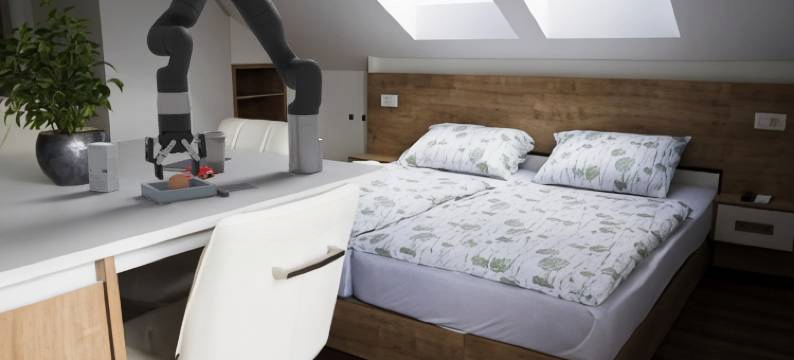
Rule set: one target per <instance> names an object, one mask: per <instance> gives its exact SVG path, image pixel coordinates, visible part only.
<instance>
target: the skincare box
mask: <svg viewBox="0 0 794 360" xmlns="http://www.w3.org/2000/svg"><path fill="white" fill-rule="evenodd" d="M86 147H87V164H88V166H87V167H88V182H89V183H88V185H89V191H90V192H100V193H111V192H116V191H119V190H120V179H119V178H120V177H119V173H120V171H119V153H118V152H119V151H118V150H119V149H118V143H114V142H100V141H99V142H98V141H97V142H92V143H87V146H86Z"/></svg>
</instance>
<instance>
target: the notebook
mask: <svg viewBox="0 0 794 360" xmlns="http://www.w3.org/2000/svg"><path fill="white" fill-rule="evenodd" d="M191 160H193V159H192V158H191V157H190V158H187V159H182V160H178V161H175V162H172V163H168V164H162V165H163V171H173V172H174V171H175V172H182V171H185V170H186V169H188V168H190V167H192V164H191ZM232 160H233V159H232V157H225V161H224V165H225V164H228V163H231V162H232ZM200 167H207V161H206V157H205V158H202V159H200Z"/></svg>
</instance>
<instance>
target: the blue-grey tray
mask: <svg viewBox="0 0 794 360" xmlns="http://www.w3.org/2000/svg"><path fill="white" fill-rule="evenodd" d="M168 180H169V179H167V180H159V181H149V182H143V183H140V191H141V196H142V197H144V198H146V199H148V200H149V199H150V200H149V201H151V202H153V203H154V204H156V205H158V204H159V206H162V205H161V204H163V205H167V204H168V205H169V204H170V205H171V204H172V203H173V202H180V201H181V202H182V201H188V200H195V199H203V198H210V197H217V195H218V194H217V189H216V187H217V185H216V184H215V183H213V182H209V181H207V180H206V179H204V180H202V179H200V178H197V177H193V178H188V180H189V188H182V189H174V190H170V189H169V187H168Z"/></svg>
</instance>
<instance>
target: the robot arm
mask: <svg viewBox="0 0 794 360" xmlns="http://www.w3.org/2000/svg"><path fill="white" fill-rule="evenodd" d="M207 1H208V0H171V3H170V5H169V7H168V8H167V9H166V10H165V11H164V12H163V13H162V14H161V15H160V16H159V17H158V18H157V19H156V20H155V22H153V24H152V25H151V26H150V28H149V30H148V32H147V35H146V45H147V46H146V47H147V48H148V50H149V51H150V52H151V54H153V55H155V56H158V57H169V59H168V61H167V65H165V66H162V67H160V68H158V69H157V70H156V75H155V76H156V78H155V79H156V90H157V91H156V94H157V97H156V109H157V110H156V111H157V125H158V135H157V136H156V137H150V136H146V137H145V139H144V147H145V148H144V152H145V155H144V157H145V159H144V160H145V162H148V163H151V164H153V166H154V176H155V178H157V180H159V181H164V170H163V165H164V164H162V163H163V162H164V160H165V158H167V157H168V155H169V154H171V155H173V154H177V153H179V154H183V153H186V154H187V155H188V156H189V157H190V158H192V159H193V160H191V164H192V175H193V176H198V173H200V159H202V158H205V157H207V151H206V142H205V135H204V133H201V132H198V133H195V134H193V133H192V115H191V114H192V113H191V110H192V107H191V100H190V94H189V81H188V80H189V79H188V75H189V74H188V73H189V70H190V65H191V60H192V56H193V50H194V39H193V37H192V34H191V32H190V30H189V29H191V28H193V27H194V26H195V25H196V23H197V22H198V20H199V18H200V16H201V14H202V12H203V10H204V8H205V6H206V3H207ZM230 2H231V3H232V5H233V6H234V7H235V8H236V11H238V13H239V14H240V16H241V19H243V20H244V22H245V24H246V25H247V27H248V29H249V30H250V31H251V32H252V33H253V35H254V36H255V38H256V39H257V41H258V42H259V44H260V46H261V47H262V48H263V50H264V51H265V52H266V54H267V56H268V57H269V59H270V61H271V63H272V64H273V66H274V68H275V70H276V71H277V74H278V76H279V78H280V79H281V81H282V82H283V84H284V85H285V86H286V87H287V88H289V89H290V90H292V91H295V92H294V93H295V94H294V96H295V97H294V100H293V101H291V102H290V103H288V104H287V138H288V139H287V140H288V142H287V145H288V172H290V173H295V174H312V173H318V172H320V171H323V166H324V165H323V139H322V138H320V111H319V110H320V107H321V106H322V105H321V104H322V99H323V98H322V97H323V96H322V95H323V74H322V68H321V67H320V64H319V63H318V62H317V61H316V60H314V59H309V58H299V57H298V56H297V55H296V53H295V52H294V51H293V49H292V47H291V46H290V45H289V43H288V41H287V38H286V33H285V29H284V28H285V26H284V23H283V19H282V16H281V14H280V12H279V10H278V9H277V7H276V5H275V4H274V2H273V1H272V0H230ZM194 141H195V143H196V145H197V152H198V153H197V152H196V151H195V149H194V147H192V143H193V142H194ZM157 143H158V144H159V145H160V148H159V149H158V151H157V152H156V154H155V153H154V152H155V151H154V150H155V148H154V147H155V146H157ZM154 155H155V157H154Z"/></svg>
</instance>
